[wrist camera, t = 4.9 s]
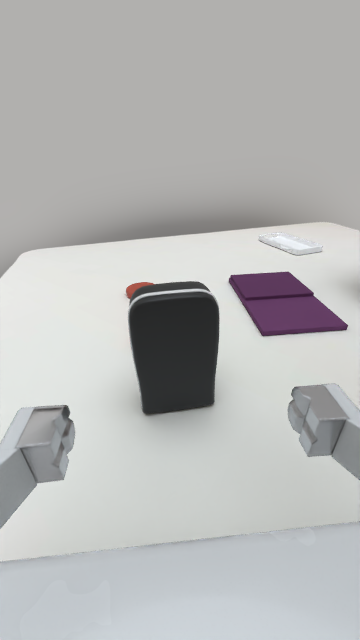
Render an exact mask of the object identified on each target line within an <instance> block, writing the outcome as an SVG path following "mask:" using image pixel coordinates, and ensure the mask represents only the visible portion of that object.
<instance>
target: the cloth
mask: <svg viewBox="0 0 360 640" xmlns="http://www.w3.org/2000/svg"><path fill="white" fill-rule="evenodd" d="M229 282H230V284H231V285H232V287H233V288H234V290H235V292H236V293H237V295H238V297H239V298H240V300H241V301H242V303H243V305H244V306H245V308H246V310H247V311H248V313H249V314H250V316H251V318H252V319H253V321H254V323H255V324H256V326H257V327H258V329H259V331H260V332H261V334H262V335H263V336H267V335H281V334H294V333H308V332H321V331H335V330H346V329H347V327H348V325H347V324H346V323H345V322H344V321H342V320H341V319H340V318H339V317H338V316H337V315H335V314H334V313H333V312H332V311H331V310H330V309H328V308H327V307H326V306H325V305H324V304H323V303H321V302H320V301H319V300H318V299H317V298H316V297H314V296H313V294H314V293H313V292H312V291H311V290H310V289H308V288H307V287H306V286H305V285H304V284H302V283H301V282H300V281H299V280H298V279H296V278H295V277H294V276H293V275H292V274H291V273H289V272H276V273H259V274H243V275H231V278H229Z"/></svg>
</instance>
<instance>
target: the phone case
mask: <svg viewBox="0 0 360 640" xmlns="http://www.w3.org/2000/svg"><path fill="white" fill-rule="evenodd" d="M272 234H277V236H275V237H268V238H266V237H263V236H265V235H272ZM259 241H262V242H264V243H267V244H269V245H272V246H274V247H277V248H279V249H282V250H284V251H287V252H289V253H292V254H295V255H303V254H308V253H314V252H320V251H322V247H323V246H322V245H320V244H317V243H314V242H311V241H308V240H304V239H301V238H298V237H295V236H292V235H289V234H286V233H282V232H278V233H271V234H263V235H259ZM290 250H292V251H290Z"/></svg>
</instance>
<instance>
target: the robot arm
mask: <svg viewBox="0 0 360 640" xmlns="http://www.w3.org/2000/svg"><path fill="white" fill-rule="evenodd" d="M291 395H292V397H293V400H292V401H291V402H290V403H289V406H288V418H289V421H290V424H291V426H292V428H293V429H294V430H295V431H296V432H298V433H299V434H300V437H299V441H300V443H301V445H302V447H303V449H304V451H305V453H306V454H307V456H308V457H312V456H327V455H332V456H331V457H333V458H334V459H335V460H336V461H337V462H339V463H340V464H341V465H342V466H343V467H344V468H346V469H347V470H348V471H349V472H350V473H352V474H353V475H354V476H355V477H356V478H358V479H359V480H360V411H359V409H358V408H357V407H356V406H355V405H354V403H353V402H352V401H351V400H350V399H349V397H348V396H347V395H346V394H345V393H344V391H343V390H342V389H341V388H340V387H339V386H338V385H337V384H335V383H334V384H322V385H311V386H299V387H294V388H293V390H292V393H291ZM69 415H70V411H69V408H68V406H67V405H58V406H39V407H26V408H21V409H20V410H18V411H17V413H16V415H15V417H14V419H13V421H12V423H11V424H10V426H9V428H8V430H7V432H6V434H5V436H4V437H3V439H2V441H1V443H0V529H1V528H2V526H3V525H4V524H5V523H6V522H7V520H8V519H9V518H10V517H11V516H12V514H13V513H14V512H15V511H16V510H17V508H18V507H19V506H20V505H21V504H22V502H23V501H24V500H25V499H26V498H27V496H28V495H29V494H30V493H31V492H32V490H33V489H34V488H35V487H36V486H37V483H43V482H51V481H59V480H64V477H65V473H66V470H67V466H68V463H69V459H68V457H67V454H68V453H69V452H70V451H71V450H72V448H73V444H74V438H75V428H74V423H73V421H72V420H70V419H69ZM0 640H360V521H359V522H350V523H341V524H332V525H323V526H314V527H305V528H296V529H287V530H278V531H269V532H260V533H251V534H242V535H233V536H224V537H216V538H207V539H198V540H189V541H180V542H171V543H162V544H153V545H144V546H135V547H126V548H117V549H108V550H100V551H91V552H82V553H73V554H64V555H55V556H46V557H37V558H28V559H19V560H10V561H2V562H0Z"/></svg>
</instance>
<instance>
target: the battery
mask: <svg viewBox="0 0 360 640" xmlns="http://www.w3.org/2000/svg"><path fill="white" fill-rule="evenodd" d="M128 326H129V335H130V343H131V350H132V355H133V361H134V365H135V370H136V375H137V379H138V384H139V391H140V398H141V408H142V410H143V412H144V413H156V412H165V411H173V410H181V409H188V408H194V407H200V406H206V405H211V404H213V403H214V389H215V373H216V365H217V355H218V344H219V306H218V302H217V300H216V298H215V297H214V295H213V294H212V293H211V292H210V291H209V289H208V288H207V287H206V286H205V285H204V284H202V283H200V282H192V281H189V282H173V283H163V284H154V285H147V286H142V287H140V288H138V289H136V290H135V292H134V293H133V294H132V296H131V299H130V305H129V310H128Z"/></svg>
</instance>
